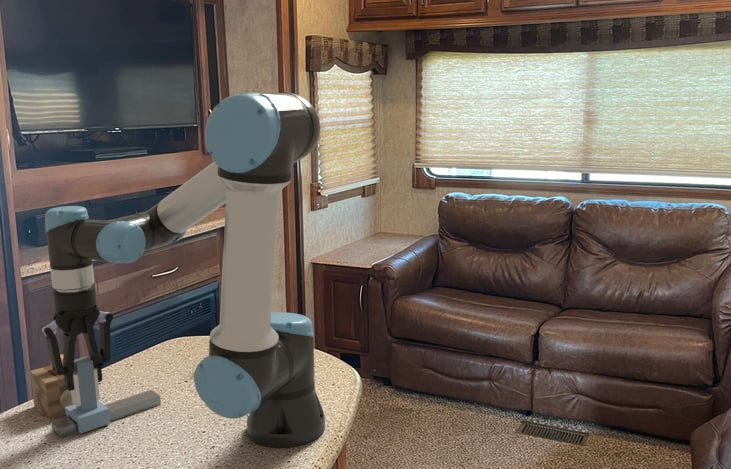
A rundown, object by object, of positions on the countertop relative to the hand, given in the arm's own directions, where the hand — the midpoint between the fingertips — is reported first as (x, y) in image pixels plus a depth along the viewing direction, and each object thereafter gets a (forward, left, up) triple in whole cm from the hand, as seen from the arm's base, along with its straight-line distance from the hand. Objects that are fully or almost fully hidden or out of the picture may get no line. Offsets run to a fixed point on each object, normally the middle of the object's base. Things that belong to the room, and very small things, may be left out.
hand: (86, 400), depth 138 cm
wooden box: (+12, 0, -5) cm, 13 cm away
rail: (0, -4, -5) cm, 7 cm away
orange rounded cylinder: (+12, 0, +2) cm, 12 cm away
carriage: (0, 0, -5) cm, 5 cm away
